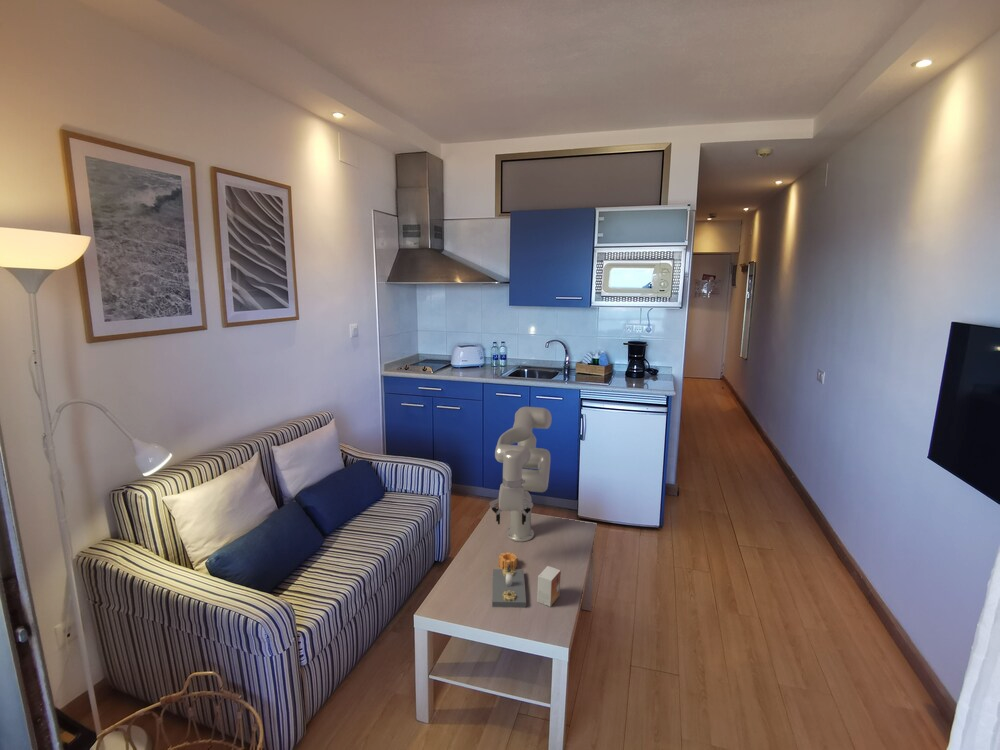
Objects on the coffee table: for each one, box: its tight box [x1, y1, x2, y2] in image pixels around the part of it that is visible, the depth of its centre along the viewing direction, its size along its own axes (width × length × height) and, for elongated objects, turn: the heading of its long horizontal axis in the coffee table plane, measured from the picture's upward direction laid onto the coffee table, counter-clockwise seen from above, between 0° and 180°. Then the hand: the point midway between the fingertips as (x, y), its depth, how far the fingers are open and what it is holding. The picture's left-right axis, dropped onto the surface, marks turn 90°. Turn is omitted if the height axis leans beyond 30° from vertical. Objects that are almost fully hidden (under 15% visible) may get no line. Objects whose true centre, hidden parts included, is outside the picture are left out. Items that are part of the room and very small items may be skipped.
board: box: [491, 564, 527, 608], centre depth 184 cm, size 20×12×6 cm, turn 0°
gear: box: [498, 551, 518, 570], centre depth 199 cm, size 7×7×4 cm
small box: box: [536, 565, 561, 608], centre depth 179 cm, size 8×6×10 cm
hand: (510, 523), depth 195 cm, fingers open, 9 cm apart
